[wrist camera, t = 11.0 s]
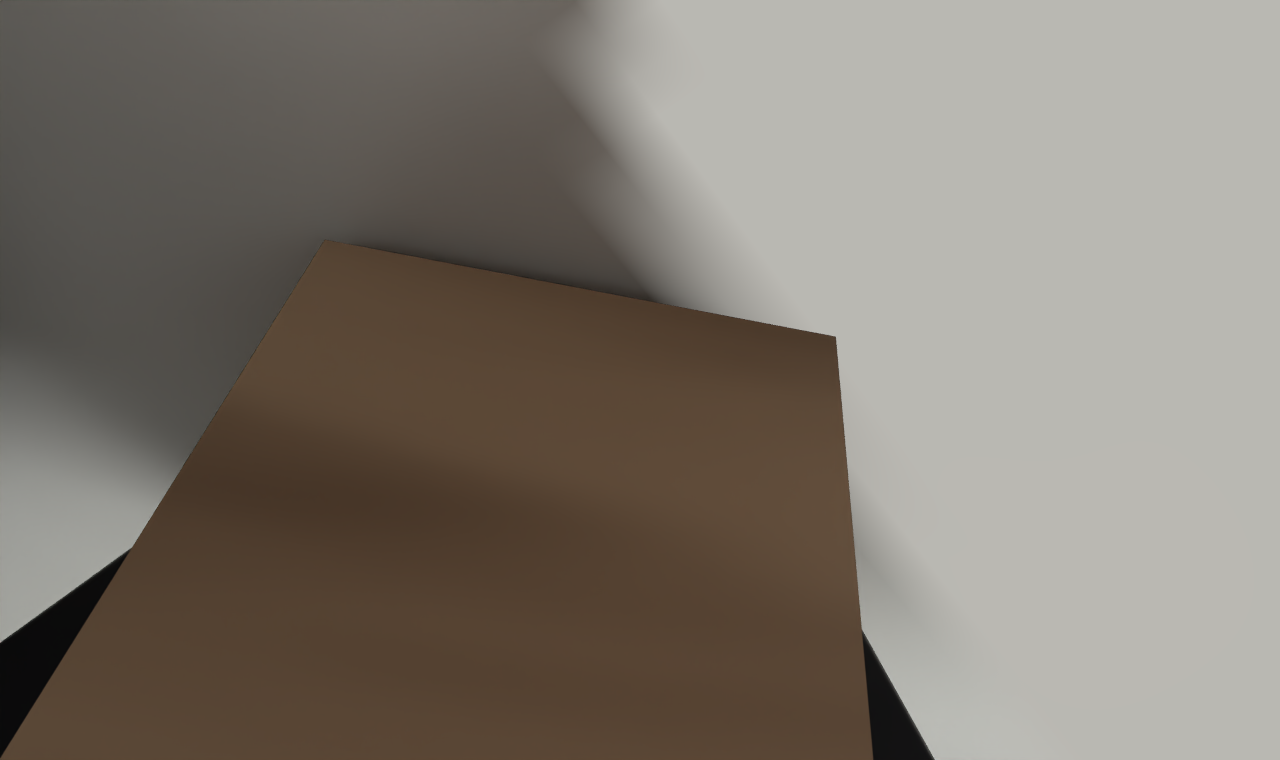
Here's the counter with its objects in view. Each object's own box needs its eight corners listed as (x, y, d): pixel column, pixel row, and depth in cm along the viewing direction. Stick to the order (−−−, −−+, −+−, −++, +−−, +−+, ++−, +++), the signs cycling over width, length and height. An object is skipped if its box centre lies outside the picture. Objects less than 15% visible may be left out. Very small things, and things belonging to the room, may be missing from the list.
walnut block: (726, 647, 12) (706, 1194, 8) (335, 576, 12) (119, 1097, 8) (835, 336, 9) (889, 944, 5) (323, 239, 9) (-20, 788, 5)
